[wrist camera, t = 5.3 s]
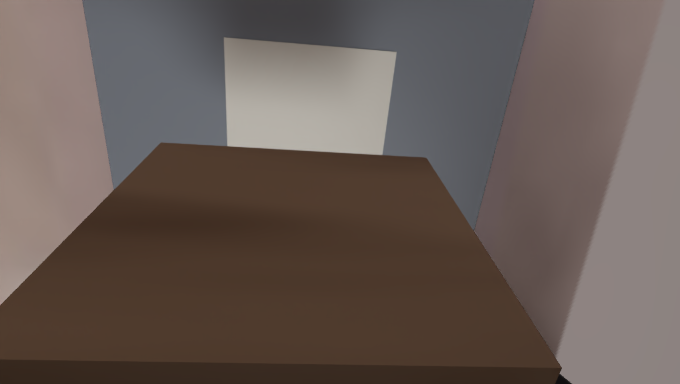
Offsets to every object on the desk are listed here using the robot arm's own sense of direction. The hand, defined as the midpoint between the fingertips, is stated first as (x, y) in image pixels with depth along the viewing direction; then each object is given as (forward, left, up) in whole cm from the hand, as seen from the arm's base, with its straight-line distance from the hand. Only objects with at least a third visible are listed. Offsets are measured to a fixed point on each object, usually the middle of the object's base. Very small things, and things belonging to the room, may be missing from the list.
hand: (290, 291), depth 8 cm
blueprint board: (0, 0, -11) cm, 11 cm away
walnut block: (0, 0, -1) cm, 1 cm away
